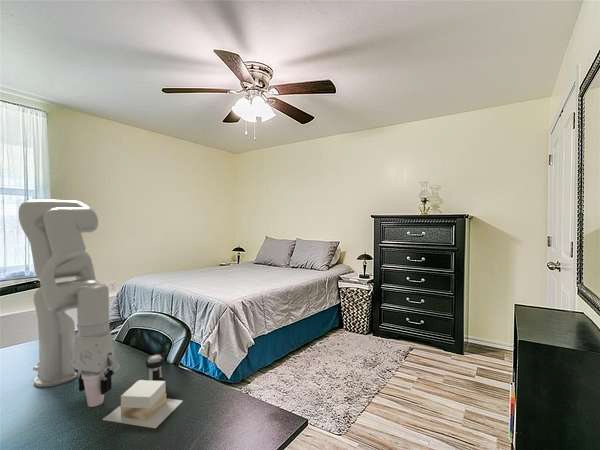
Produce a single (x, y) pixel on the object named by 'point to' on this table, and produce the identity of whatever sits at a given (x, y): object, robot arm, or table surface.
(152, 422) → the felt mat
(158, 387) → the top slab
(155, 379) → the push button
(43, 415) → the table surface
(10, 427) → the table surface
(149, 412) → the bottom slab
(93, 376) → the smoothie
